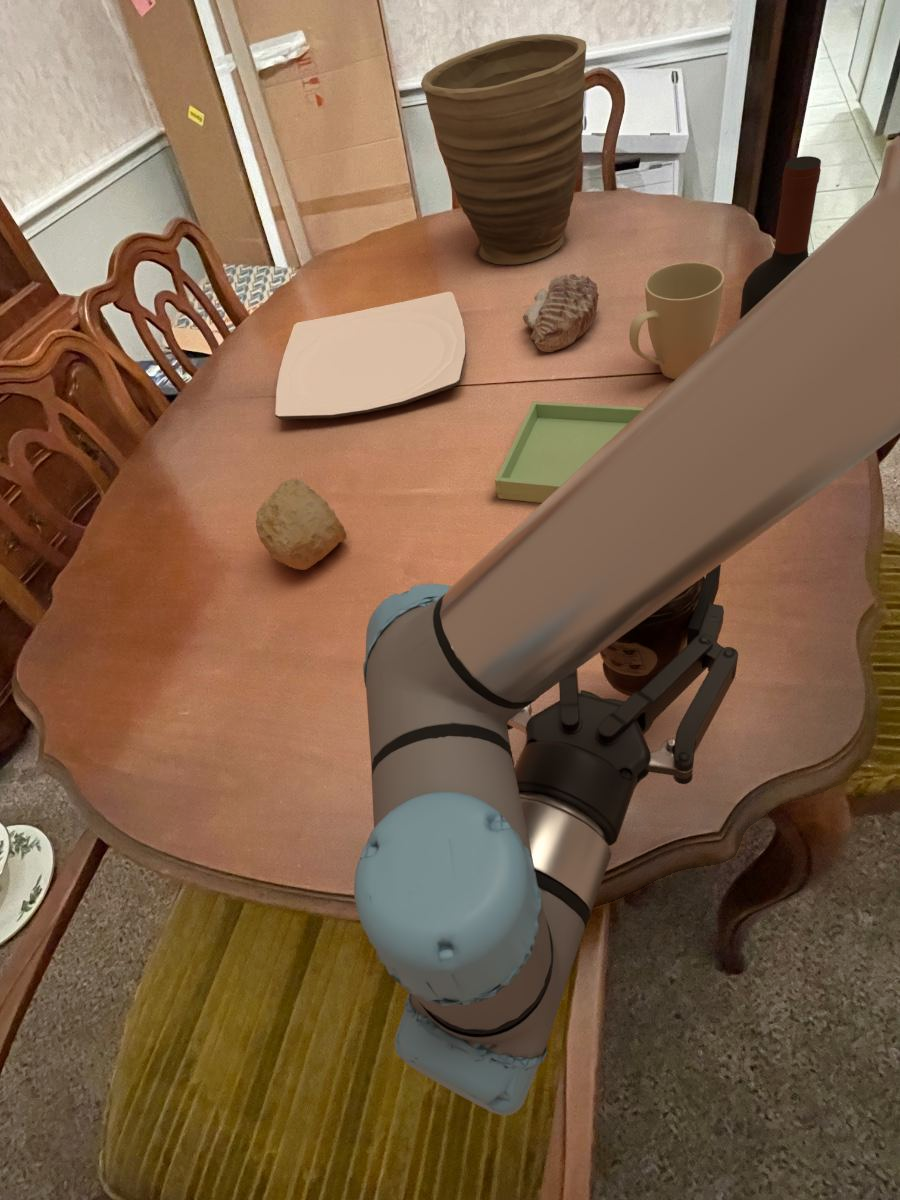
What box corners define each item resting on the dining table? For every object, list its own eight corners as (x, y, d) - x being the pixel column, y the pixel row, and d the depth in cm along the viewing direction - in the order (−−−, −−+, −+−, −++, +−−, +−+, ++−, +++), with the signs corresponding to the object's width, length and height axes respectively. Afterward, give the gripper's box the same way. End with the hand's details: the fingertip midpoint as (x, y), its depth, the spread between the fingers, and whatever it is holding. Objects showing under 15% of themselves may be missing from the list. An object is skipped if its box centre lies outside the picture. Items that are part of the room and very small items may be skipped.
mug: (644, 349, 102) (644, 262, 94) (721, 349, 99) (728, 260, 90) (629, 397, 96) (627, 309, 87) (710, 399, 93) (717, 308, 84)
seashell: (532, 285, 114) (559, 232, 105) (587, 311, 115) (619, 262, 106) (508, 353, 108) (535, 304, 99) (567, 380, 109) (598, 334, 100)
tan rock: (365, 493, 83) (286, 513, 77) (356, 568, 89) (281, 592, 83) (318, 455, 88) (239, 470, 82) (312, 528, 94) (238, 548, 88)
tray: (655, 427, 91) (655, 407, 89) (628, 512, 83) (627, 493, 81) (535, 419, 97) (532, 401, 95) (498, 498, 88) (494, 480, 86)
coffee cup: (645, 734, 58) (643, 630, 49) (568, 674, 63) (552, 570, 54) (718, 666, 61) (729, 554, 52) (638, 614, 66) (635, 504, 57)
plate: (272, 439, 105) (264, 424, 103) (293, 335, 125) (287, 320, 123) (472, 402, 102) (469, 385, 100) (463, 301, 121) (460, 285, 119)
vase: (590, 207, 136) (601, 8, 111) (564, 288, 124) (570, 85, 99) (460, 200, 142) (442, 9, 117) (423, 277, 130) (394, 82, 105)
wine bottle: (721, 432, 88) (745, 155, 66) (789, 423, 87) (837, 138, 65) (734, 474, 83) (766, 189, 61) (807, 465, 82) (866, 171, 60)
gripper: (426, 797, 54) (541, 571, 66) (722, 907, 45) (793, 624, 57) (400, 744, 49) (531, 508, 61) (732, 858, 40) (808, 556, 52)
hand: (658, 565), depth 59 cm, fingers closed on coffee cup, 8 cm apart
